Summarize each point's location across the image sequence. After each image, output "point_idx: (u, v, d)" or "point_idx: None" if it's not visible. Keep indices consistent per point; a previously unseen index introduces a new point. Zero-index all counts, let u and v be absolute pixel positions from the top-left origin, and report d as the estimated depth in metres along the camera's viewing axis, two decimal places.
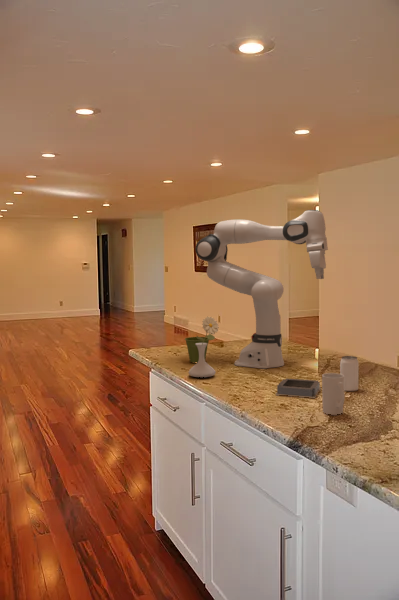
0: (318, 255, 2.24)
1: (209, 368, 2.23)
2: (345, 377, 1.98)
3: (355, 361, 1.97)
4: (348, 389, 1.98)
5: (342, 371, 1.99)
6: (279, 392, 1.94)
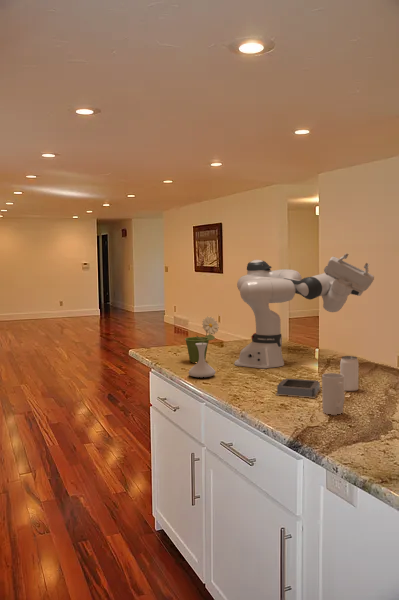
0: (367, 288, 2.31)
1: (209, 368, 2.23)
2: (345, 377, 1.98)
3: (355, 361, 1.97)
4: (348, 389, 1.98)
5: (342, 371, 1.99)
6: (279, 392, 1.94)
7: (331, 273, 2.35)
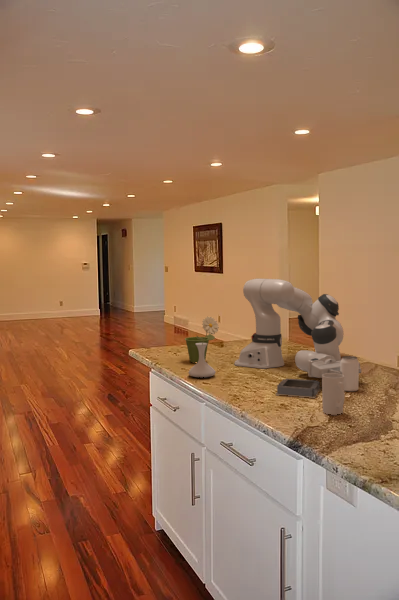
0: (313, 367, 2.04)
1: (209, 368, 2.23)
2: (346, 377, 1.97)
3: (356, 361, 1.97)
4: (350, 389, 1.97)
5: (343, 371, 1.98)
6: (279, 392, 1.94)
7: None
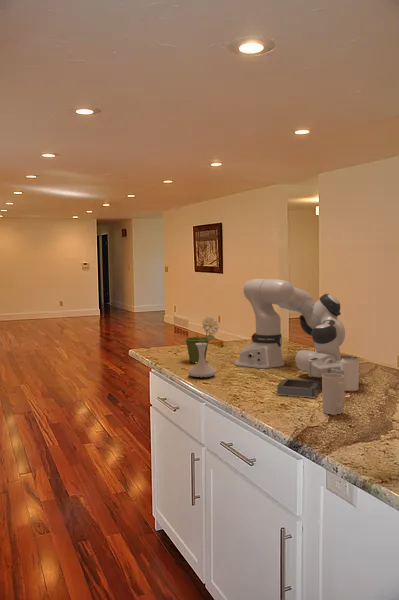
0: (312, 366, 2.03)
1: (209, 368, 2.23)
2: (347, 377, 1.97)
3: (356, 361, 1.97)
4: (350, 389, 1.97)
5: None
6: (279, 392, 1.94)
7: None
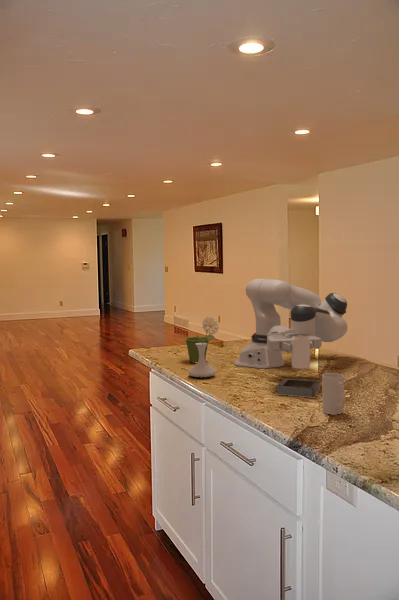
0: None
1: (209, 368, 2.23)
2: (295, 354, 1.94)
3: (305, 338, 1.94)
4: (298, 366, 1.94)
5: (292, 349, 1.96)
6: (279, 392, 1.94)
7: None
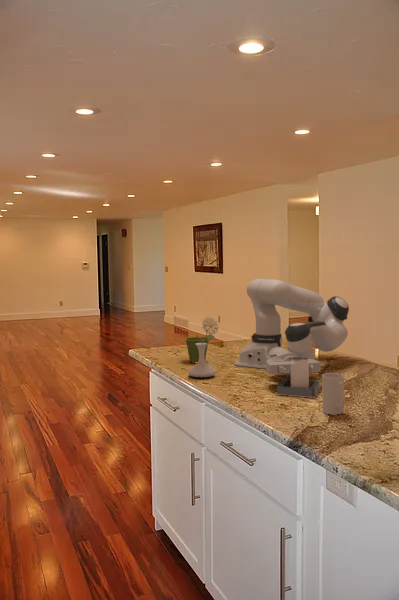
0: (266, 362, 2.05)
1: (209, 368, 2.23)
2: (294, 378, 1.95)
3: (304, 362, 1.94)
4: None
5: (291, 372, 1.96)
6: (279, 392, 1.94)
7: None
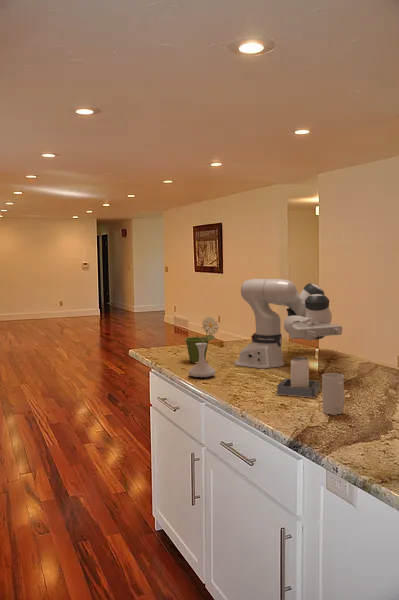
0: (292, 327, 2.11)
1: (209, 368, 2.23)
2: (294, 378, 1.95)
3: (304, 362, 1.94)
4: None
5: (291, 372, 1.96)
6: (279, 392, 1.94)
7: (327, 324, 2.17)
